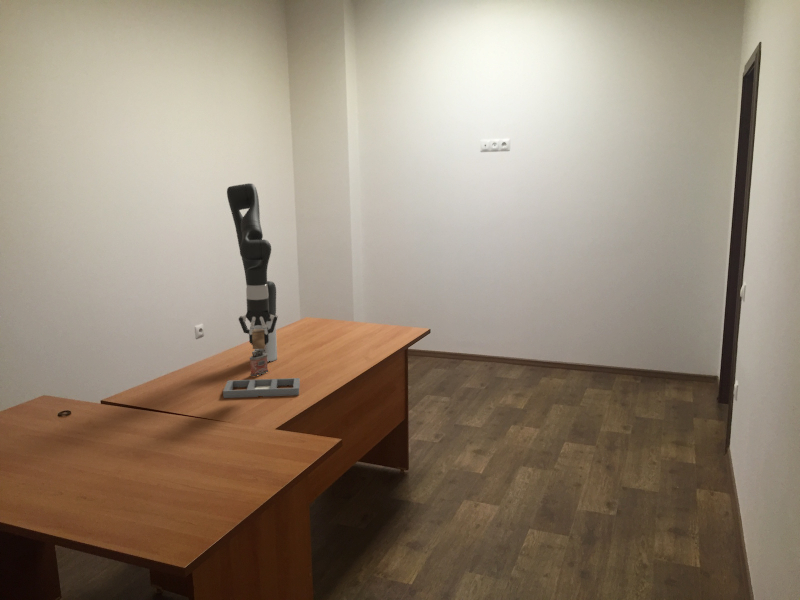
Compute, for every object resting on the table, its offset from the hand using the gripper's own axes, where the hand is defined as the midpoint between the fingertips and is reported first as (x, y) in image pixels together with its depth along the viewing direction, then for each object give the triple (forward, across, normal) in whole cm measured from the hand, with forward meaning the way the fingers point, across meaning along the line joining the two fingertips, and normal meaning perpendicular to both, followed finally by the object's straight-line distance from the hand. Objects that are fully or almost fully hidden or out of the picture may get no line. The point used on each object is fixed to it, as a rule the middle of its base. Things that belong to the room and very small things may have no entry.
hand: (259, 344), depth 227 cm
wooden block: (+1, 0, 0) cm, 1 cm away
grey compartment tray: (+17, +1, 0) cm, 17 cm away
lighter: (+18, -3, +20) cm, 27 cm away
